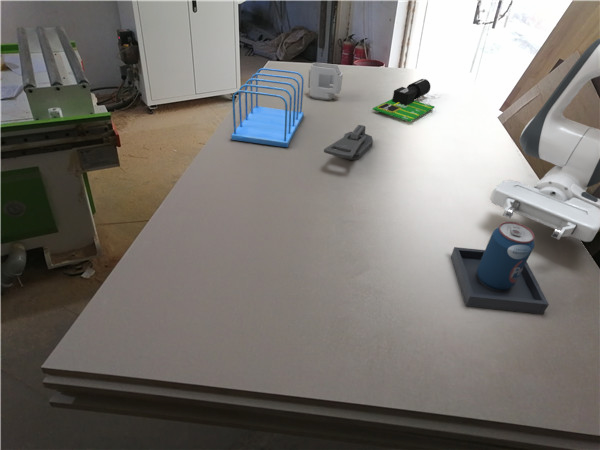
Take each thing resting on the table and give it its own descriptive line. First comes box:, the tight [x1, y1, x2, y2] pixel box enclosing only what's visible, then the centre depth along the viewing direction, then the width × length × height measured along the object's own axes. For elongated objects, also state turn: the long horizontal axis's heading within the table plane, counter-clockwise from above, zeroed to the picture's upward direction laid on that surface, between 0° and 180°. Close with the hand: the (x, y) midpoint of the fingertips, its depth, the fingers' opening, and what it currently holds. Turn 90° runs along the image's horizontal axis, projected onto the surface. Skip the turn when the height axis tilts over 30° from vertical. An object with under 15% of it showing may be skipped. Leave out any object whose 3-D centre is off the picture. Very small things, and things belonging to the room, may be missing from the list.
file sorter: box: [230, 67, 305, 148], centre depth 126 cm, size 25×17×15 cm
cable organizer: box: [307, 62, 344, 102], centre depth 151 cm, size 7×12×12 cm, turn 75°
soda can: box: [477, 221, 535, 291], centre depth 74 cm, size 7×7×12 cm
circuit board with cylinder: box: [372, 78, 435, 123], centre depth 148 cm, size 30×7×15 cm
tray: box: [450, 246, 550, 315], centre depth 77 cm, size 14×14×3 cm
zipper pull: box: [323, 124, 374, 161], centre depth 115 cm, size 9×7×25 cm
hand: (531, 224), depth 79 cm, fingers open, 8 cm apart
